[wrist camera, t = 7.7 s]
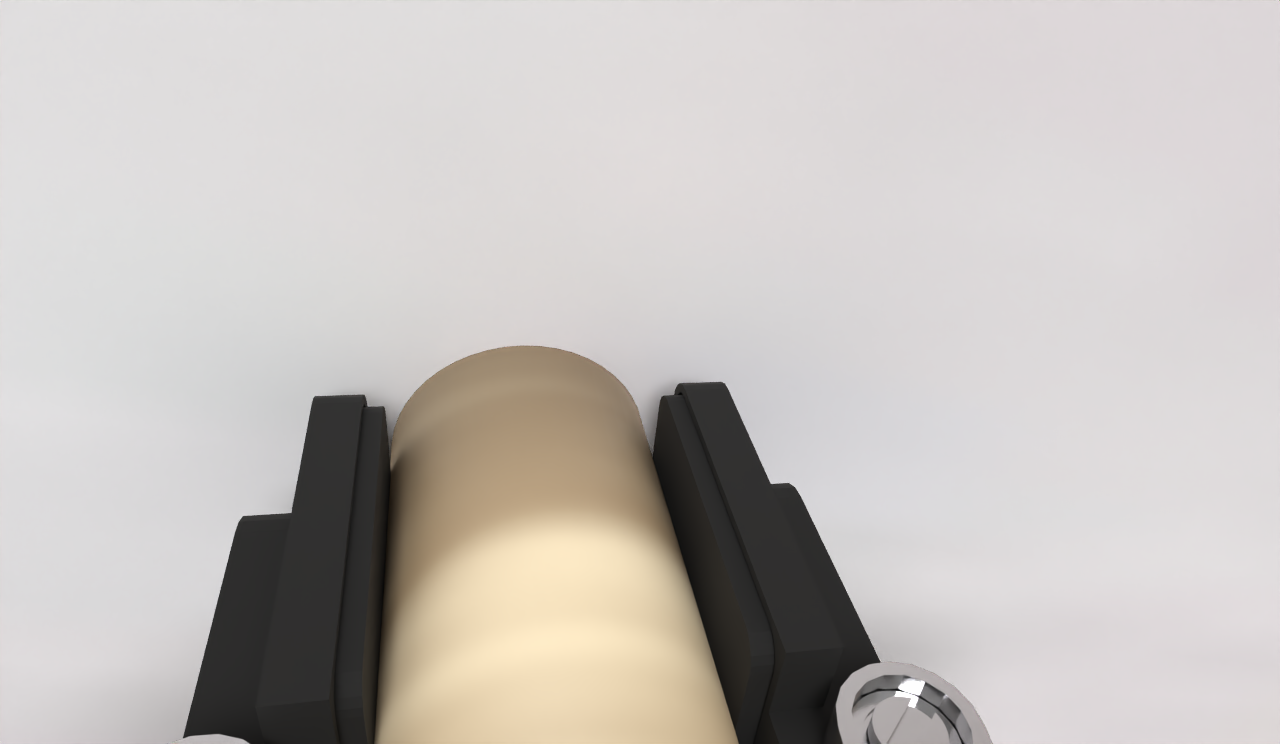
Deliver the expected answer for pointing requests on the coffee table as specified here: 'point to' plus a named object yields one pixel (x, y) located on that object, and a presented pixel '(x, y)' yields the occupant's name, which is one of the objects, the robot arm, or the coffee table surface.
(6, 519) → the coffee table surface
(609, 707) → the block
